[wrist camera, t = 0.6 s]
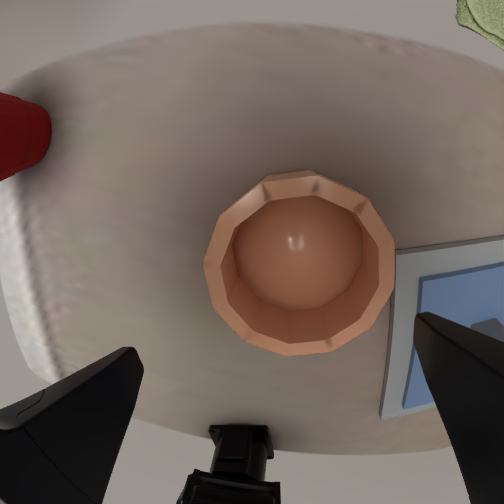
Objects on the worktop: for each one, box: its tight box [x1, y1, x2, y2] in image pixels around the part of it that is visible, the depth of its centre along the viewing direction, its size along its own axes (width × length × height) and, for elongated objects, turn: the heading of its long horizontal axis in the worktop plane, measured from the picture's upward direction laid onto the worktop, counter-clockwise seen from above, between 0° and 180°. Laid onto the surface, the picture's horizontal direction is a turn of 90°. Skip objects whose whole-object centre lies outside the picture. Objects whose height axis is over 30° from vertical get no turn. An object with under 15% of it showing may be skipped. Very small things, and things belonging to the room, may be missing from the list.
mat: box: [379, 235, 504, 420], centre depth 22 cm, size 18×18×1 cm
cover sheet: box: [402, 262, 504, 410], centre depth 19 cm, size 14×14×5 cm
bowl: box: [203, 170, 395, 356], centre depth 19 cm, size 11×11×5 cm
